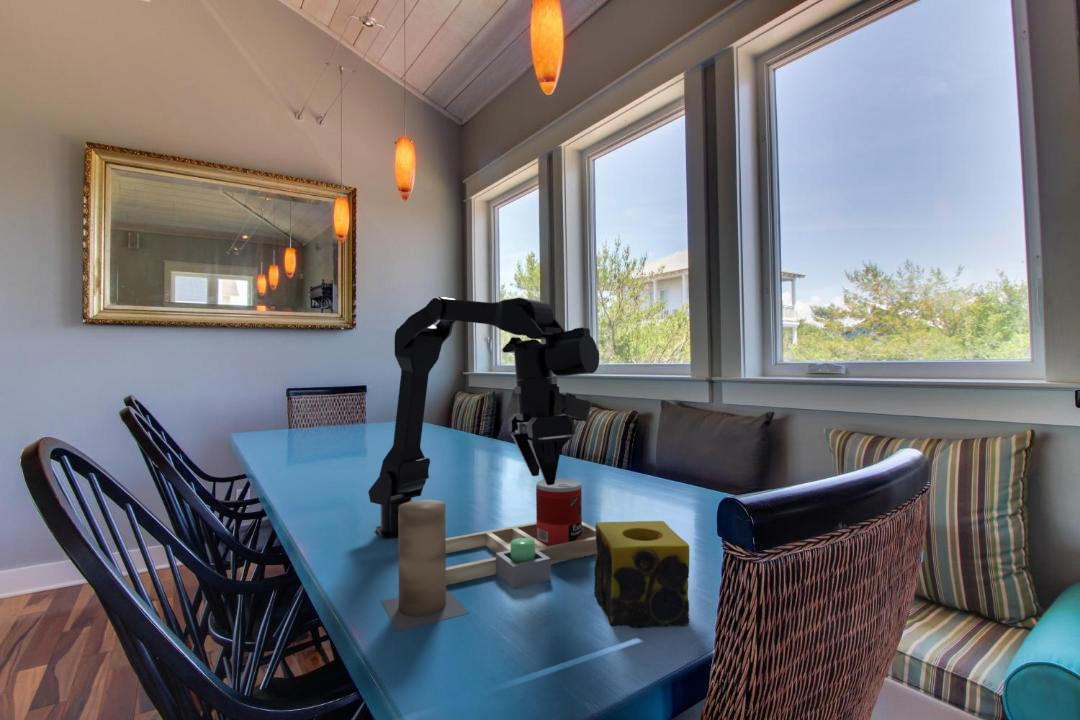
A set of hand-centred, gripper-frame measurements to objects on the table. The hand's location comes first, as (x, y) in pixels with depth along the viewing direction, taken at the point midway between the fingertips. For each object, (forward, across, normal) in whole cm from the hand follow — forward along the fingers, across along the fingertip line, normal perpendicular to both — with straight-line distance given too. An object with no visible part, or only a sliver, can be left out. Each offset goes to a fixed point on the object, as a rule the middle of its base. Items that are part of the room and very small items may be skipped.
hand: (542, 480), depth 80 cm
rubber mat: (+13, -7, +19) cm, 24 cm away
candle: (+16, -14, -8) cm, 23 cm away
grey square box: (+14, -1, +4) cm, 15 cm away
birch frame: (+13, +9, +4) cm, 16 cm away
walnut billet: (+13, -7, +19) cm, 24 cm away
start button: (+11, -1, +4) cm, 12 cm away
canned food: (+14, +11, -5) cm, 18 cm away
